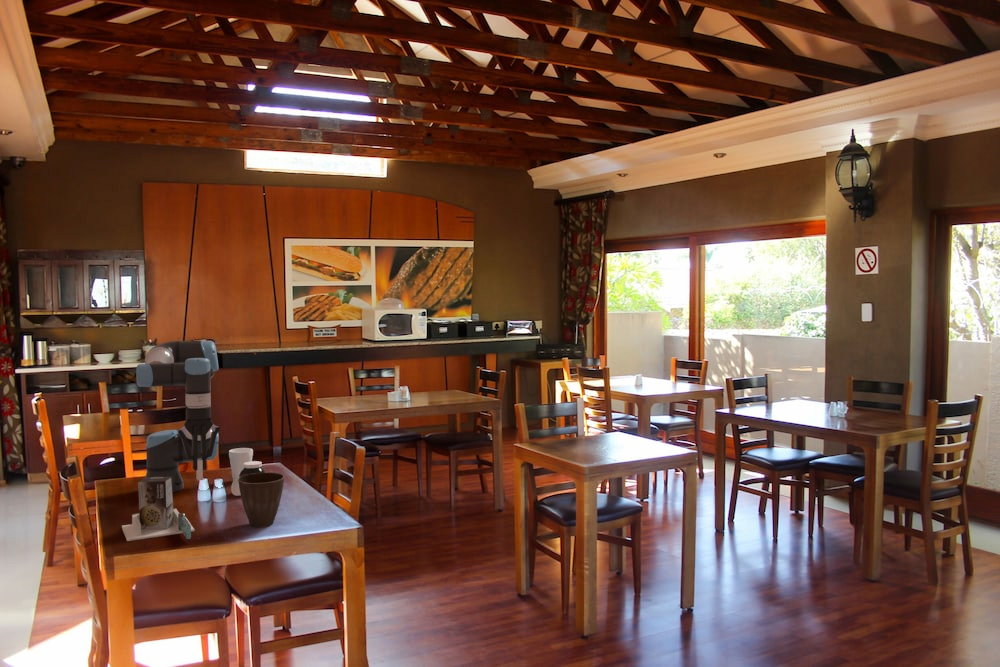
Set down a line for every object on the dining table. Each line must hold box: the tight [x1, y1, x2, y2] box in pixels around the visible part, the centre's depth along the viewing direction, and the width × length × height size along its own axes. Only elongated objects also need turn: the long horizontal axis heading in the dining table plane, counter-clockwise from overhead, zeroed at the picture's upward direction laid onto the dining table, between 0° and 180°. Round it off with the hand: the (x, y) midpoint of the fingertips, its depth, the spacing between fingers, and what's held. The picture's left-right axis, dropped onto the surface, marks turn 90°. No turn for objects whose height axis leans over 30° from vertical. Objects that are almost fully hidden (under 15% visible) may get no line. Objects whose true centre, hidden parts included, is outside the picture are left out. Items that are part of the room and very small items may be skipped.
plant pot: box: [238, 471, 285, 528], centre depth 260 cm, size 15×15×16 cm
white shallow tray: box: [121, 508, 195, 542], centre depth 254 cm, size 17×20×4 cm
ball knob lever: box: [178, 512, 192, 540], centre depth 246 cm, size 15×2×5 cm, turn 31°
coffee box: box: [137, 477, 174, 530], centre depth 255 cm, size 9×6×16 cm
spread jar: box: [230, 460, 266, 497], centre depth 301 cm, size 12×11×12 cm
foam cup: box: [228, 447, 254, 482], centre depth 320 cm, size 10×9×13 cm
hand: (199, 479), depth 247 cm, fingers closed
